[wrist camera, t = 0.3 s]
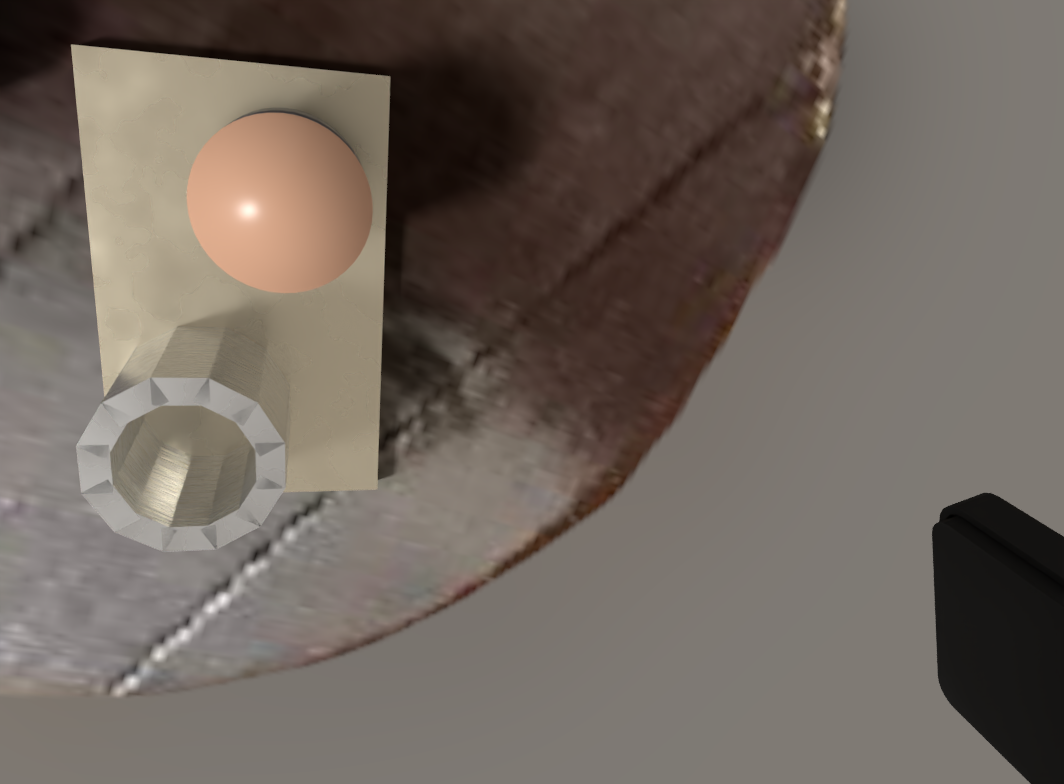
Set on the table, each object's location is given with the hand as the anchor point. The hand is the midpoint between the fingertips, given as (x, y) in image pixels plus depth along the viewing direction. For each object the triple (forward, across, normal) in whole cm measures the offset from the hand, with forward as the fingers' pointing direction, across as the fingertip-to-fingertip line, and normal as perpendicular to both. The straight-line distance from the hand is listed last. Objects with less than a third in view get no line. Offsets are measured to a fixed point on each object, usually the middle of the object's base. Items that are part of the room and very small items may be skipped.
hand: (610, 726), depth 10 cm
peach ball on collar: (+33, +4, -4) cm, 33 cm away
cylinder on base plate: (+34, +7, +1) cm, 35 cm away
